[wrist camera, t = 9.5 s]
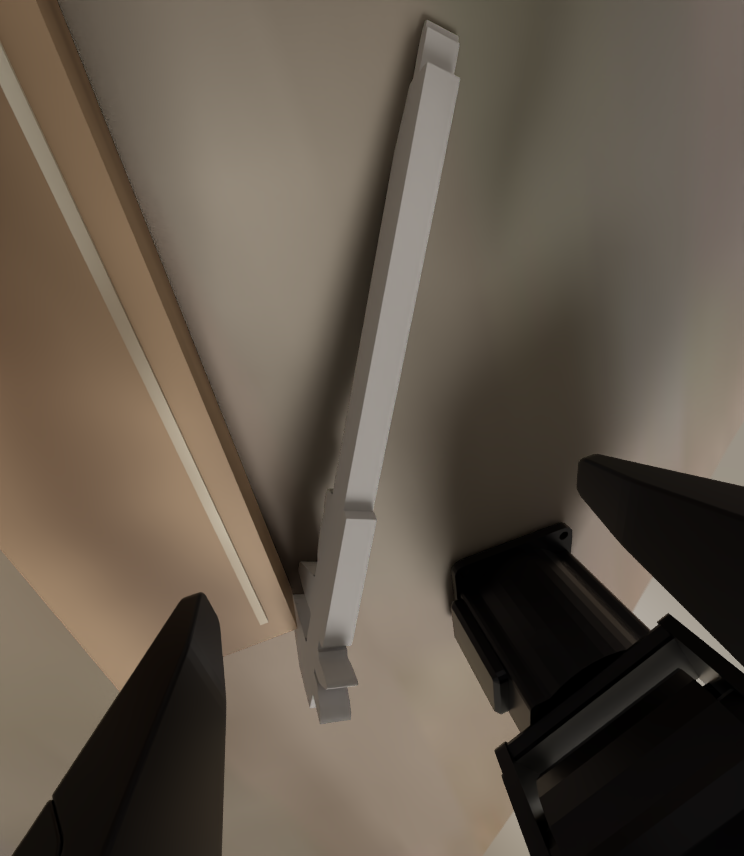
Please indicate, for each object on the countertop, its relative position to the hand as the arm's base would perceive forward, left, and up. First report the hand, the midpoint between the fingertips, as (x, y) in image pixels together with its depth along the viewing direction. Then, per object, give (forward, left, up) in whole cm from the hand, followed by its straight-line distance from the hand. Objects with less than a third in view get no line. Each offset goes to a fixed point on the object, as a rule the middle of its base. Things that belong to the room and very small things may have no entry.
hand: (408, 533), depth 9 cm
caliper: (-1, -1, -7) cm, 7 cm away
